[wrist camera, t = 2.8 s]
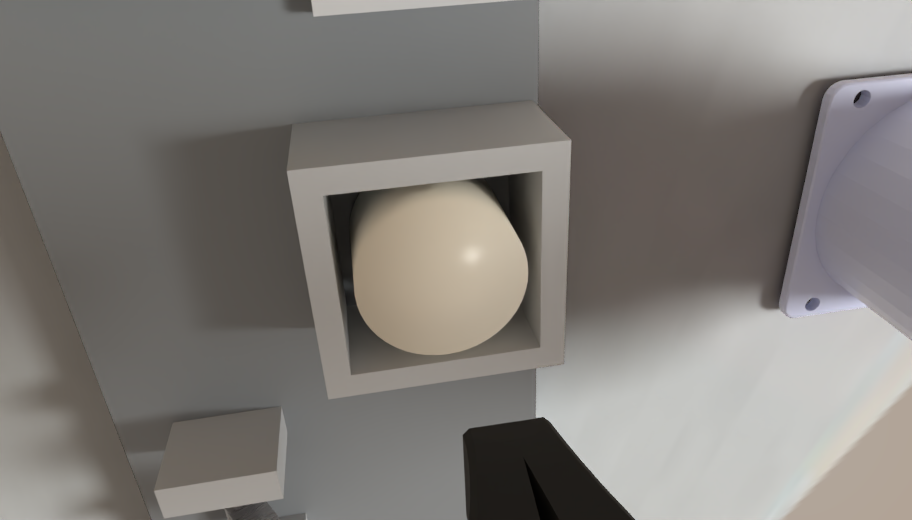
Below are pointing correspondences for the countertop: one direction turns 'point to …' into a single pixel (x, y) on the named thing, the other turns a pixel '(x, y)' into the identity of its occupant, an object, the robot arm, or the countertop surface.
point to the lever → (252, 512)
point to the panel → (280, 233)
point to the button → (435, 265)
